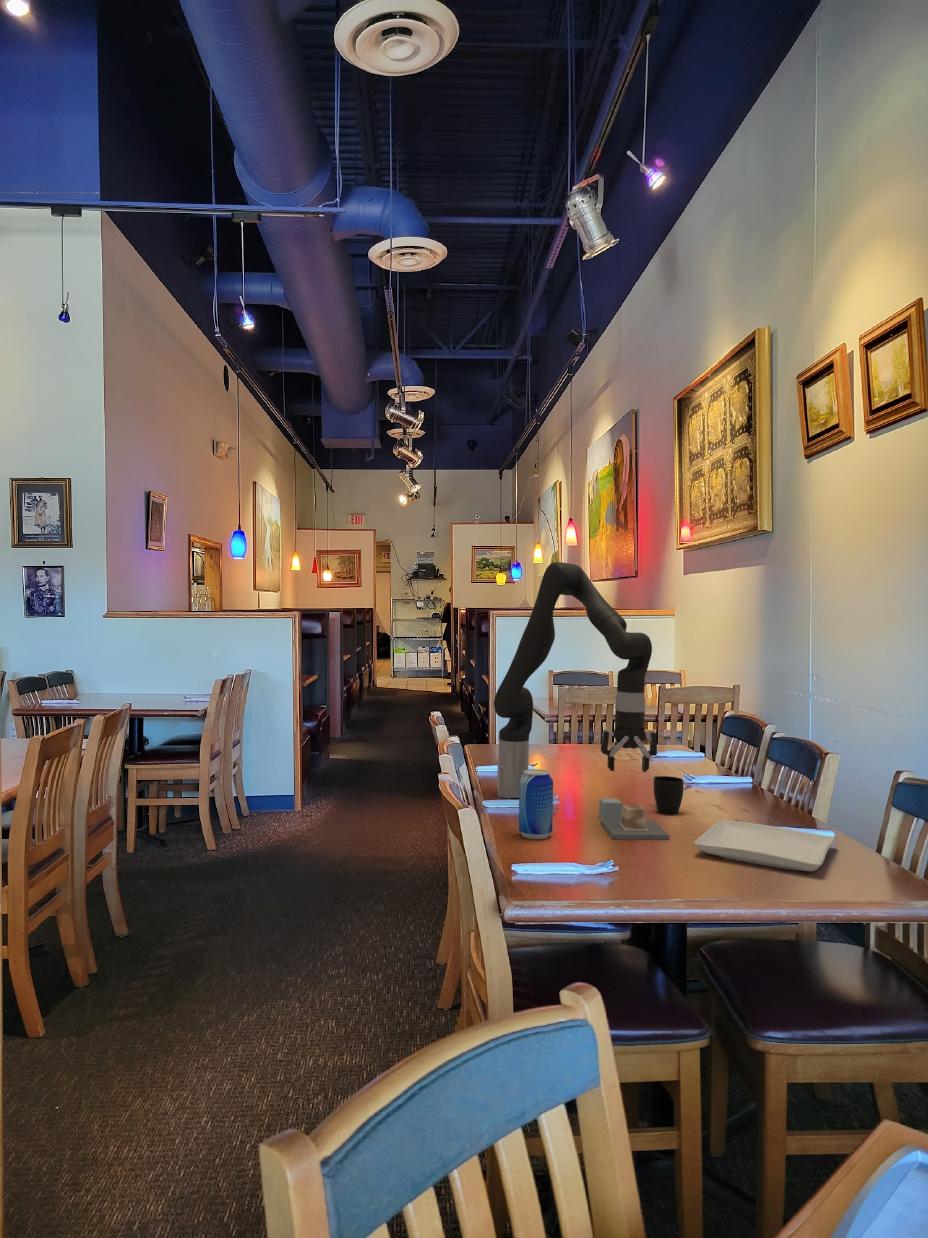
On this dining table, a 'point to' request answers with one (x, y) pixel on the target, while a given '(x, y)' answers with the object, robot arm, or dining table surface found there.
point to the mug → (668, 794)
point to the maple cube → (633, 816)
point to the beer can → (535, 804)
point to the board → (634, 831)
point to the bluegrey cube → (610, 809)
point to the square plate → (765, 845)
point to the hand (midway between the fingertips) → (628, 771)
